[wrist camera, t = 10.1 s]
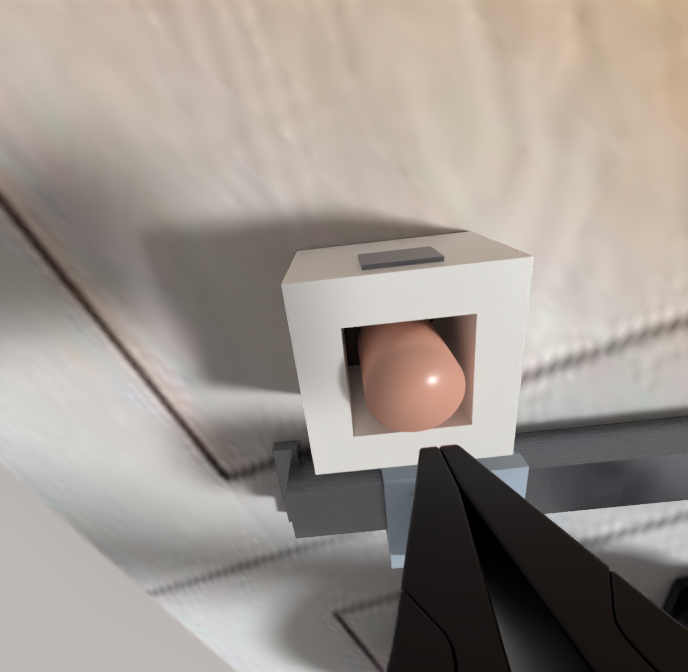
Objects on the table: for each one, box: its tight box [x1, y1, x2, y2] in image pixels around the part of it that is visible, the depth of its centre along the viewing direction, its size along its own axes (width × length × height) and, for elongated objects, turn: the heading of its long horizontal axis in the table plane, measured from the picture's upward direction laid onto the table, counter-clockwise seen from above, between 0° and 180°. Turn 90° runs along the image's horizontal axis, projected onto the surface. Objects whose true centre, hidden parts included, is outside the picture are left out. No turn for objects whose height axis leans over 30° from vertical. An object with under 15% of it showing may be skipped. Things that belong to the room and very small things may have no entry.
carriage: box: [381, 450, 529, 569], centre depth 15 cm, size 6×6×9 cm
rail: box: [272, 416, 688, 538], centre depth 18 cm, size 5×26×2 cm, turn 96°
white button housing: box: [281, 231, 534, 475], centre depth 14 cm, size 7×7×5 cm
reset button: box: [358, 319, 466, 432], centre depth 12 cm, size 3×3×4 cm
